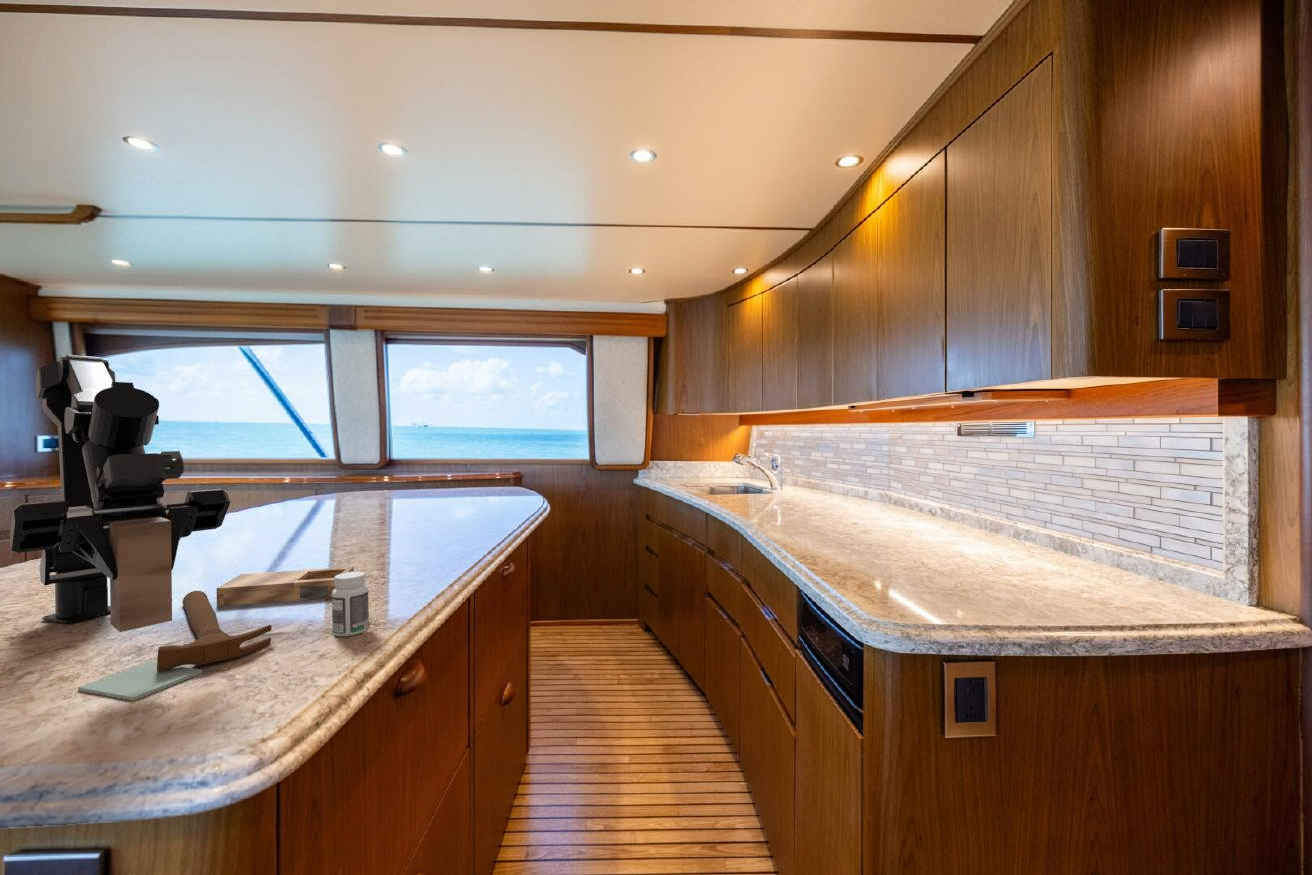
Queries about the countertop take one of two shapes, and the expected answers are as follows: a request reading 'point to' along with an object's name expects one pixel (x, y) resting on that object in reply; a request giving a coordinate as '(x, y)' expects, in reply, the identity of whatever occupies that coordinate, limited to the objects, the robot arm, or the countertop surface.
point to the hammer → (207, 638)
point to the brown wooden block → (141, 573)
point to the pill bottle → (350, 604)
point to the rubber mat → (139, 681)
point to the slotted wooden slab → (279, 586)
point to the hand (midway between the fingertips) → (143, 572)
